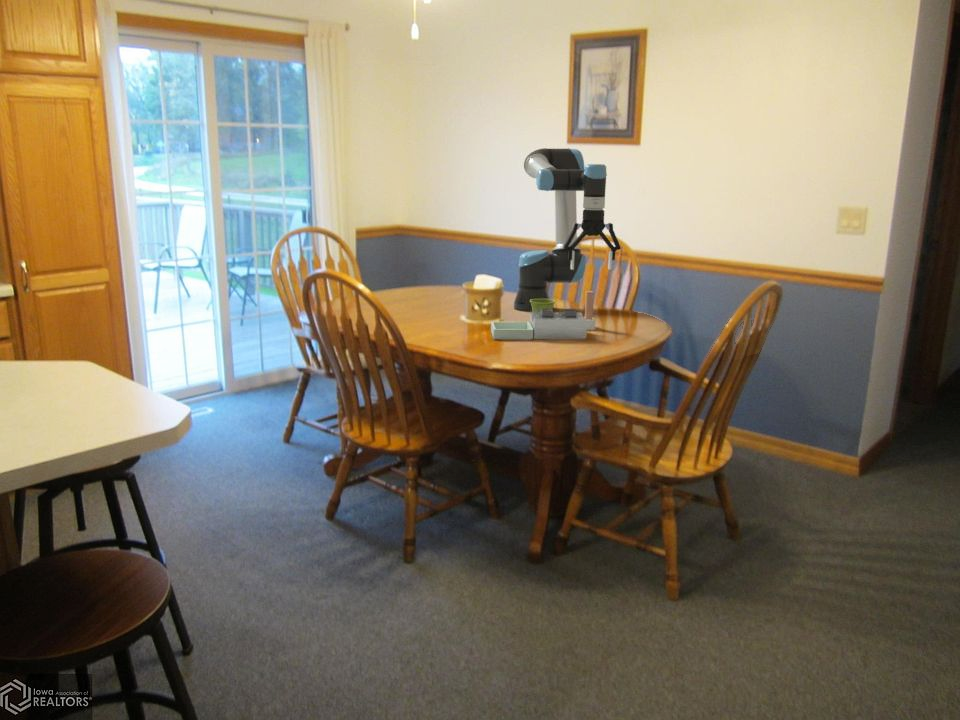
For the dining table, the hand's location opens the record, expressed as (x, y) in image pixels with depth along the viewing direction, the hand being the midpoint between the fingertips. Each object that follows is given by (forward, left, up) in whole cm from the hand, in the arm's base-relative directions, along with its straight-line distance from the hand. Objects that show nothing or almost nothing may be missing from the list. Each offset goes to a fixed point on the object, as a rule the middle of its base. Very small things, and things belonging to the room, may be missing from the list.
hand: (590, 269), depth 287 cm
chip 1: (+12, -17, -17) cm, 26 cm away
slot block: (+12, -13, -22) cm, 28 cm away
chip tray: (+12, -29, -22) cm, 38 cm away
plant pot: (-8, -16, -22) cm, 28 cm away
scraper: (0, 0, -22) cm, 22 cm away
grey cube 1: (+12, -9, -17) cm, 22 cm away
